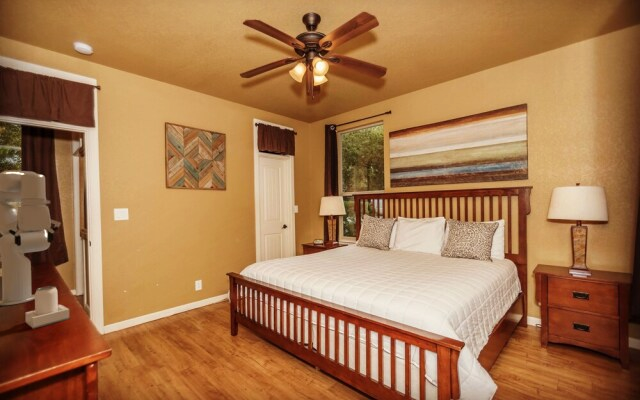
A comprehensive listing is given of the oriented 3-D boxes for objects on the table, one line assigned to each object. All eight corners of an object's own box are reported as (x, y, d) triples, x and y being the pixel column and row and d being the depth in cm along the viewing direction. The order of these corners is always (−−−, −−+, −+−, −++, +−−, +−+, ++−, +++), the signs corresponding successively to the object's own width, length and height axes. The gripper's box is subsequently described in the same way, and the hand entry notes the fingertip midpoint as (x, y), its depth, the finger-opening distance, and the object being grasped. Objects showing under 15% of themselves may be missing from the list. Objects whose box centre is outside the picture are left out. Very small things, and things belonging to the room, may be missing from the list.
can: (44, 323, 112) (43, 290, 112) (30, 321, 114) (30, 290, 114) (62, 316, 119) (61, 285, 119) (49, 315, 120) (48, 285, 120)
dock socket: (25, 322, 115) (25, 312, 115) (60, 313, 123) (60, 304, 123) (33, 328, 109) (33, 318, 109) (69, 318, 118) (69, 309, 118)
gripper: (57, 203, 136) (58, 240, 136) (2, 203, 122) (3, 246, 122) (62, 202, 132) (63, 242, 132) (6, 203, 118) (7, 247, 118)
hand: (34, 244), depth 127 cm, fingers open, 9 cm apart
